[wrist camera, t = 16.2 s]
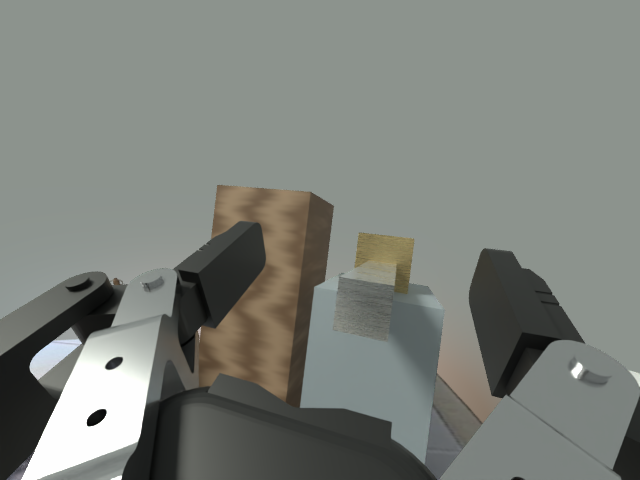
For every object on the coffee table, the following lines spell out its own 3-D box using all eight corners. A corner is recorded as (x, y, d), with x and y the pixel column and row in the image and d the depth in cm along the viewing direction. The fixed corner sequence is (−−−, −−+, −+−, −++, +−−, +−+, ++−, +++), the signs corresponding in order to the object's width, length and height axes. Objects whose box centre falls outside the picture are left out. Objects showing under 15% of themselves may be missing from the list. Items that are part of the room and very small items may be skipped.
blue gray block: (289, 497, 27) (314, 286, 27) (324, 414, 41) (342, 272, 41) (413, 549, 24) (444, 309, 24) (408, 440, 38) (427, 286, 37)
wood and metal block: (307, 324, 16) (319, 220, 16) (360, 277, 38) (365, 234, 38) (417, 348, 14) (432, 232, 14) (405, 284, 36) (411, 239, 36)
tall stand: (192, 406, 39) (217, 184, 39) (241, 367, 52) (261, 199, 51) (281, 437, 35) (310, 191, 35) (311, 387, 48) (333, 205, 47)
